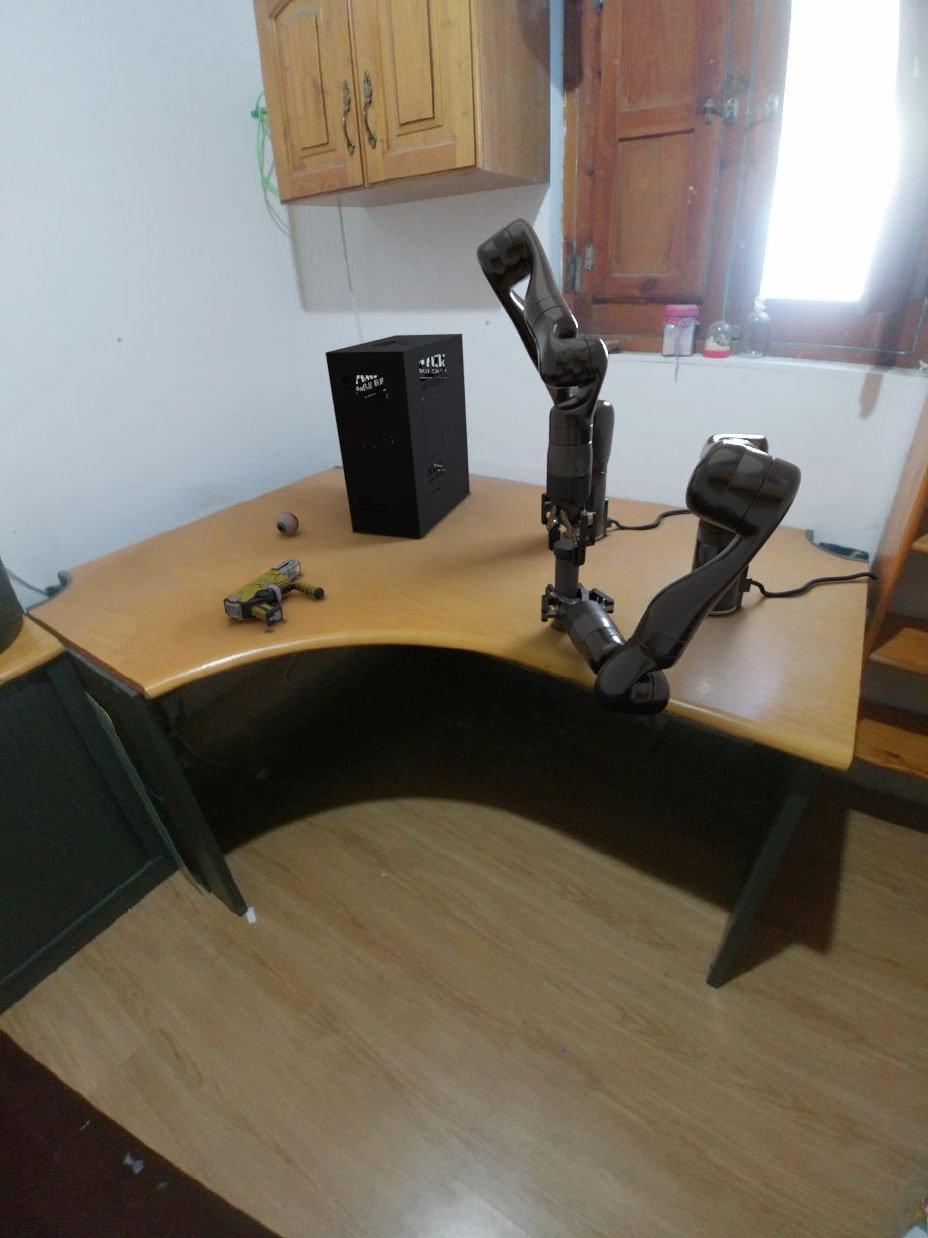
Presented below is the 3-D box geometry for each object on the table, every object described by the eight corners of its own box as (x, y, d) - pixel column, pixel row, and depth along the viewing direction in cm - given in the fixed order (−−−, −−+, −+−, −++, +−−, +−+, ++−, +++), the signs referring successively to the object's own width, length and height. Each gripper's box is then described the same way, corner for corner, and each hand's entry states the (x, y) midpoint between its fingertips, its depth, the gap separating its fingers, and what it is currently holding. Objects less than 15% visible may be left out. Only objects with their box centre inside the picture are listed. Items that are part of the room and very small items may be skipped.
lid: (552, 558, 107) (552, 549, 106) (554, 547, 112) (554, 538, 111) (581, 559, 106) (581, 550, 105) (582, 548, 111) (582, 539, 110)
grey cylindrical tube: (556, 617, 119) (559, 541, 111) (578, 620, 117) (582, 544, 109) (551, 628, 116) (552, 551, 108) (573, 631, 114) (576, 553, 106)
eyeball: (273, 537, 164) (268, 516, 161) (287, 528, 169) (282, 508, 166) (291, 539, 161) (286, 518, 158) (305, 530, 166) (301, 510, 163)
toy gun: (343, 567, 137) (286, 555, 141) (282, 613, 117) (218, 598, 121) (344, 585, 139) (288, 574, 143) (284, 634, 119) (221, 619, 123)
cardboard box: (410, 488, 194) (395, 335, 172) (469, 492, 188) (462, 333, 165) (352, 531, 164) (325, 352, 142) (420, 538, 158) (403, 351, 135)
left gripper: (528, 461, 106) (528, 548, 114) (574, 482, 94) (570, 577, 102) (564, 455, 108) (562, 540, 116) (613, 474, 97) (606, 567, 105)
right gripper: (635, 606, 100) (598, 564, 114) (551, 617, 98) (525, 573, 113) (631, 644, 103) (596, 599, 118) (550, 656, 102) (525, 608, 117)
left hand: (565, 557), depth 109 cm, fingers open, 7 cm apart
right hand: (561, 586), depth 115 cm, fingers closed on grey cylindrical tube, 4 cm apart
